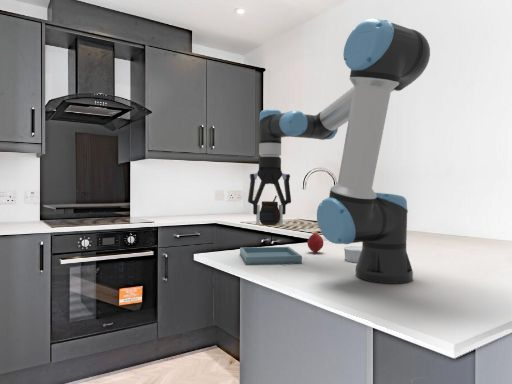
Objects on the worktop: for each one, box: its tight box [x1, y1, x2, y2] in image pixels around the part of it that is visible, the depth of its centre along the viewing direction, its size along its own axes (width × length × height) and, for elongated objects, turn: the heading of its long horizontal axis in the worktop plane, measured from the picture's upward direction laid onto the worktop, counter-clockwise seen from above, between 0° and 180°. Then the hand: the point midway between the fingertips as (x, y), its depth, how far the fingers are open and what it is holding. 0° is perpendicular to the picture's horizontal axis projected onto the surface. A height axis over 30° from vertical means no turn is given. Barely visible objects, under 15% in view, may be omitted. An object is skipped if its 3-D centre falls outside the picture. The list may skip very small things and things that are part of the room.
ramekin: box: [343, 245, 362, 264], centre depth 133 cm, size 9×9×4 cm
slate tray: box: [239, 246, 303, 266], centre depth 134 cm, size 18×18×2 cm
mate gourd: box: [260, 195, 280, 226], centre depth 134 cm, size 7×8×10 cm
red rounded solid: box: [307, 230, 324, 254], centre depth 146 cm, size 6×6×8 cm
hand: (269, 224), depth 134 cm, fingers closed on mate gourd, 7 cm apart
